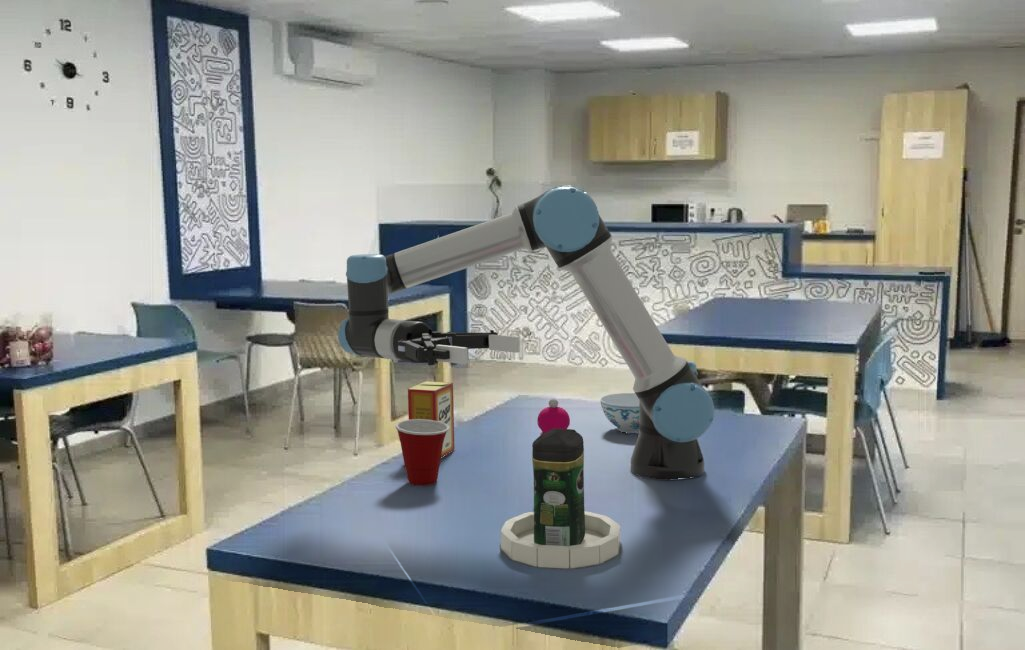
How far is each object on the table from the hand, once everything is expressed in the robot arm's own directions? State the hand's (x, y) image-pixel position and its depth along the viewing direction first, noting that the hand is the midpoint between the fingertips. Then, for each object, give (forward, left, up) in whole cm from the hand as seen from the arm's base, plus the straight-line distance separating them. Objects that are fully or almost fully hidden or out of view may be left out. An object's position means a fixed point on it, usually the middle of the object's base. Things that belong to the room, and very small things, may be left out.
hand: (493, 350), depth 167 cm
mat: (-6, +14, -31) cm, 35 cm away
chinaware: (-53, -53, -31) cm, 82 cm away
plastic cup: (+5, -31, -31) cm, 44 cm away
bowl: (-6, +14, -31) cm, 34 cm away
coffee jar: (-6, +14, -30) cm, 34 cm away
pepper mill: (-14, -8, -31) cm, 36 cm away
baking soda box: (-3, -51, -31) cm, 60 cm away
